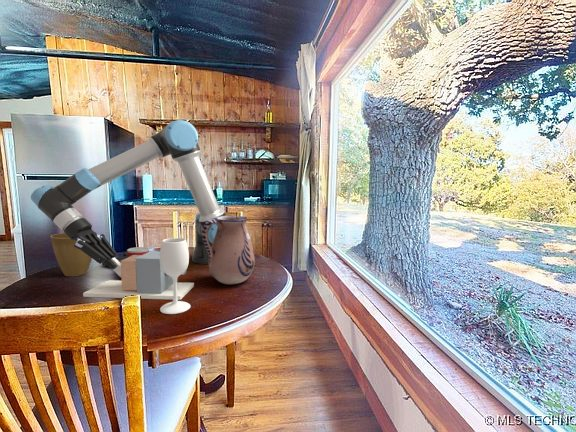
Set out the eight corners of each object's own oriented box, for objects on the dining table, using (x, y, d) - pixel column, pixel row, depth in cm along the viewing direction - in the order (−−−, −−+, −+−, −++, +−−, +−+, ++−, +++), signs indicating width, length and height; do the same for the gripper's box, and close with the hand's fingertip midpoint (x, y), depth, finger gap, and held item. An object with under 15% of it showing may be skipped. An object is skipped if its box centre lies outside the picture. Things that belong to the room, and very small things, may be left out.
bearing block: (193, 286, 110) (193, 251, 108) (180, 299, 97) (179, 260, 96) (107, 283, 110) (106, 248, 109) (83, 296, 98) (81, 257, 96)
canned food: (141, 279, 115) (140, 251, 114) (123, 278, 117) (122, 250, 116) (153, 273, 123) (153, 247, 121) (136, 272, 124) (135, 246, 123)
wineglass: (164, 317, 85) (162, 244, 82) (156, 306, 92) (155, 239, 89) (194, 310, 90) (193, 241, 87) (185, 300, 97) (184, 236, 94)
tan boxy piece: (189, 283, 107) (188, 256, 106) (180, 291, 99) (180, 262, 98) (134, 282, 108) (133, 254, 106) (121, 290, 100) (120, 260, 99)
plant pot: (65, 282, 110) (62, 239, 109) (45, 275, 118) (42, 235, 116) (106, 272, 123) (104, 234, 122) (86, 266, 131) (84, 230, 129)
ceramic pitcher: (263, 279, 119) (264, 217, 116) (224, 295, 101) (224, 222, 99) (231, 271, 129) (231, 213, 126) (191, 284, 111) (190, 218, 108)
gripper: (80, 229, 108) (127, 275, 110) (51, 235, 95) (105, 287, 97) (94, 214, 108) (141, 261, 109) (66, 219, 95) (120, 272, 96)
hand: (124, 273), depth 103 cm, fingers closed
